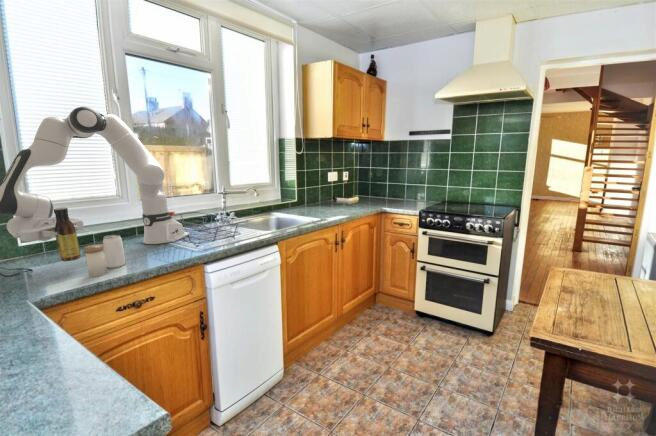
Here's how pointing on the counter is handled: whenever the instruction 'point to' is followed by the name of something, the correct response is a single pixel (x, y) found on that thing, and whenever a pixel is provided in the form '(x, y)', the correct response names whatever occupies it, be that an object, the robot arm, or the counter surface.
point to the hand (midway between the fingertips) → (66, 231)
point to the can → (113, 251)
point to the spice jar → (95, 260)
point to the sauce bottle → (66, 236)
